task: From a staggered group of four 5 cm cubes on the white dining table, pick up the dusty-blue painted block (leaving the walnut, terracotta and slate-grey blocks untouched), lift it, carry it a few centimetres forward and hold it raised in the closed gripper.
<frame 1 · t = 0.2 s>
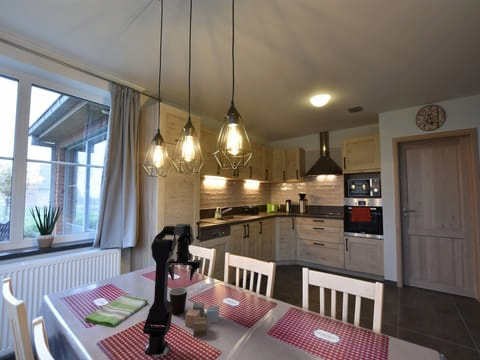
hand: (181, 280, 114), 14 cm above the table, fingers open, 9 cm apart
walnut block: (199, 332, 96), on the table
dish towel: (118, 312, 111), on the table
coffee mug: (179, 310, 113), on the table
terracotta block: (192, 324, 102), on the table
blue block: (213, 319, 106), on the table
grey block: (198, 315, 109), on the table
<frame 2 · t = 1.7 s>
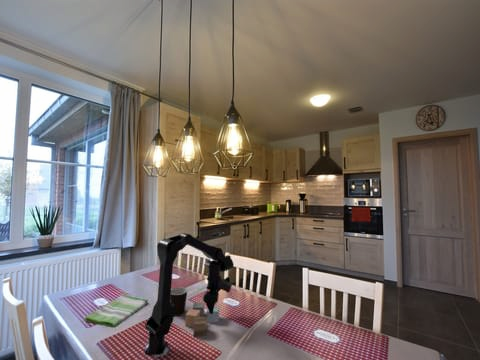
hand: (213, 308, 106), 5 cm above the table, fingers open, 9 cm apart
nothing on the table moved.
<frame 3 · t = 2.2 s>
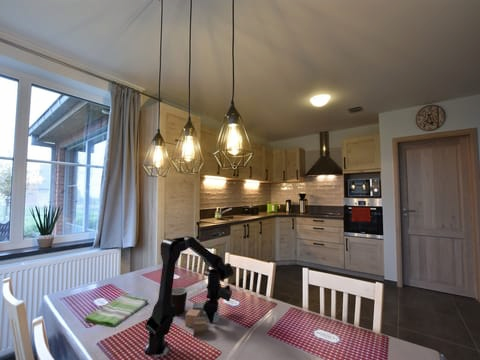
hand: (213, 317, 106), 1 cm above the table, fingers open, 9 cm apart
nothing on the table moved.
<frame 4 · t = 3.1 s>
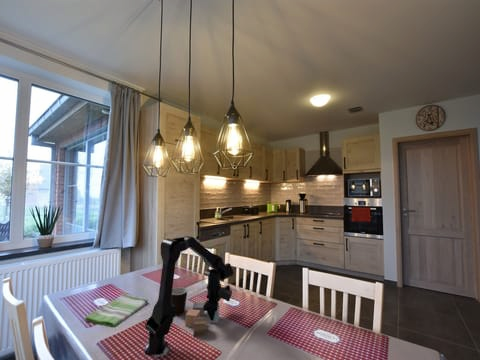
hand: (213, 317, 106), 1 cm above the table, fingers closed on blue block, 5 cm apart
blue block: (213, 319, 106), on the table, touching gripper
everything else where it was.
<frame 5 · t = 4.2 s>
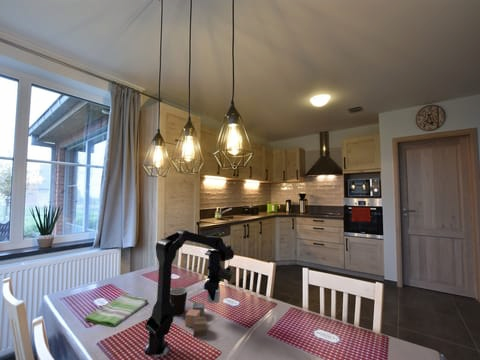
hand: (213, 297, 106), 10 cm above the table, fingers closed on blue block, 5 cm apart
blue block: (213, 300, 106), point 9 cm above the table, touching gripper
everything else where it was.
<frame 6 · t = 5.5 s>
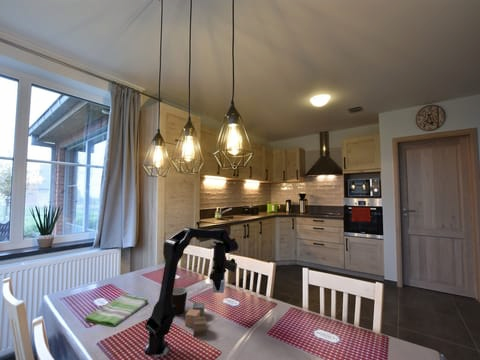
hand: (218, 288, 109), 13 cm above the table, fingers closed on blue block, 5 cm apart
blue block: (218, 290, 109), point 12 cm above the table, touching gripper
everything else where it was.
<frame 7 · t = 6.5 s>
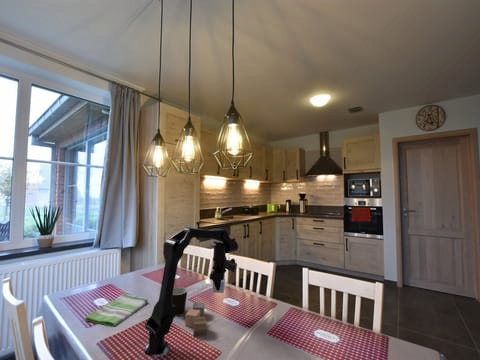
hand: (218, 288, 109), 13 cm above the table, fingers closed on blue block, 5 cm apart
blue block: (218, 290, 109), point 12 cm above the table, touching gripper
everything else where it was.
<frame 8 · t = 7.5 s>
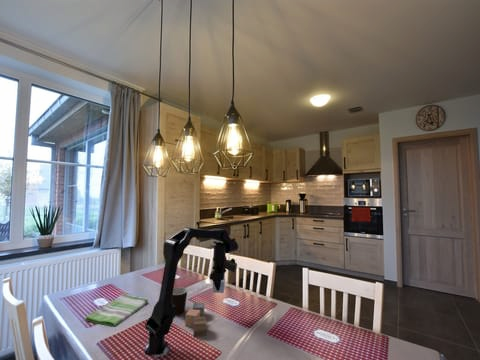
hand: (218, 288, 109), 13 cm above the table, fingers closed on blue block, 5 cm apart
blue block: (218, 290, 109), point 12 cm above the table, touching gripper
everything else where it was.
at the end: the gripper is holding blue block; blue block point 11.9 cm above the table; walnut block moved 0.1 cm from its start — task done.
